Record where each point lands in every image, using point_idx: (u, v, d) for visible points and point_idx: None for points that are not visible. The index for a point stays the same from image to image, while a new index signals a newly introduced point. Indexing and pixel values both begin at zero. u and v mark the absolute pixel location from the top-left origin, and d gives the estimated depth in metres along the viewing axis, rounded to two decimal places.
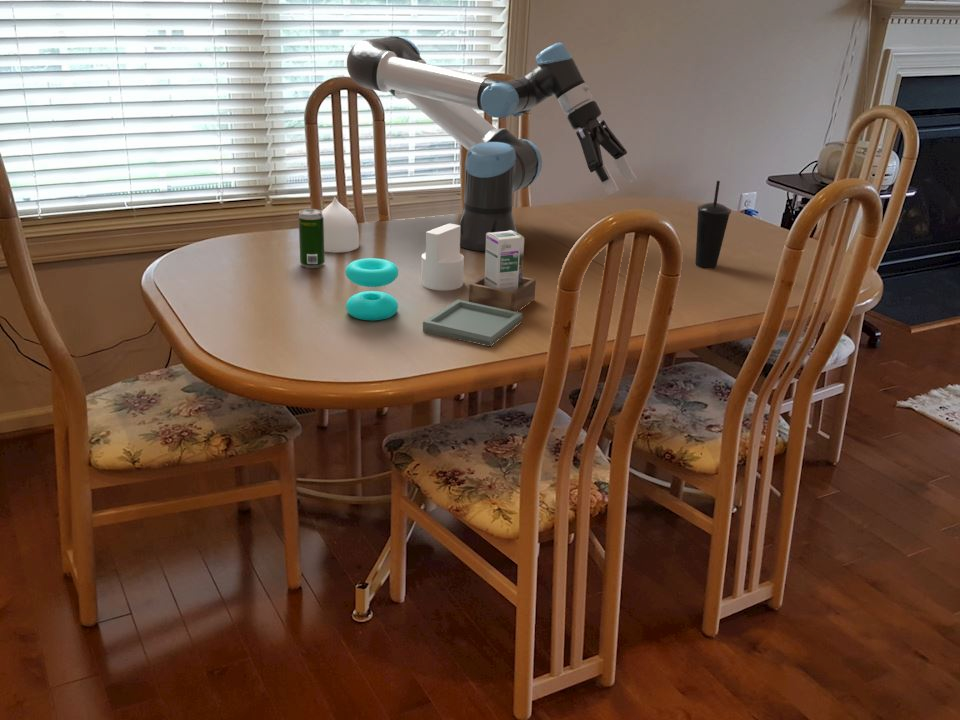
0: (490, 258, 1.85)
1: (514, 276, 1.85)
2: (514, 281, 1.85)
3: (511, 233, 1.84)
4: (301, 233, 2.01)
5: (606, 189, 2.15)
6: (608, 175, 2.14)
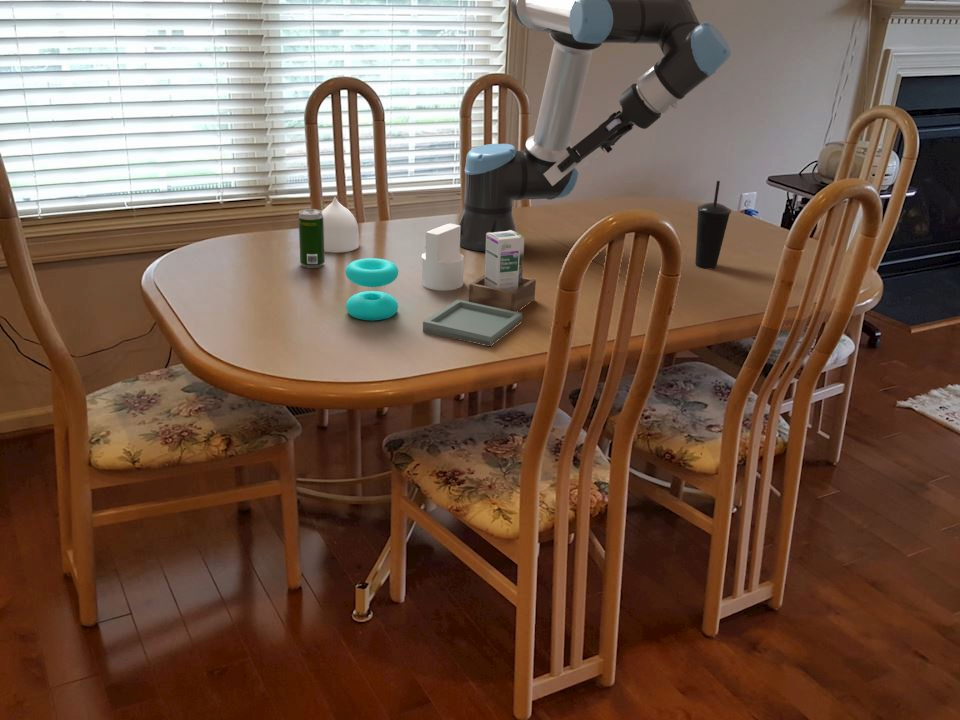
0: (490, 257, 1.85)
1: (515, 276, 1.85)
2: (514, 281, 1.85)
3: (511, 233, 1.84)
4: (301, 233, 2.01)
5: (550, 170, 1.67)
6: (567, 170, 1.66)
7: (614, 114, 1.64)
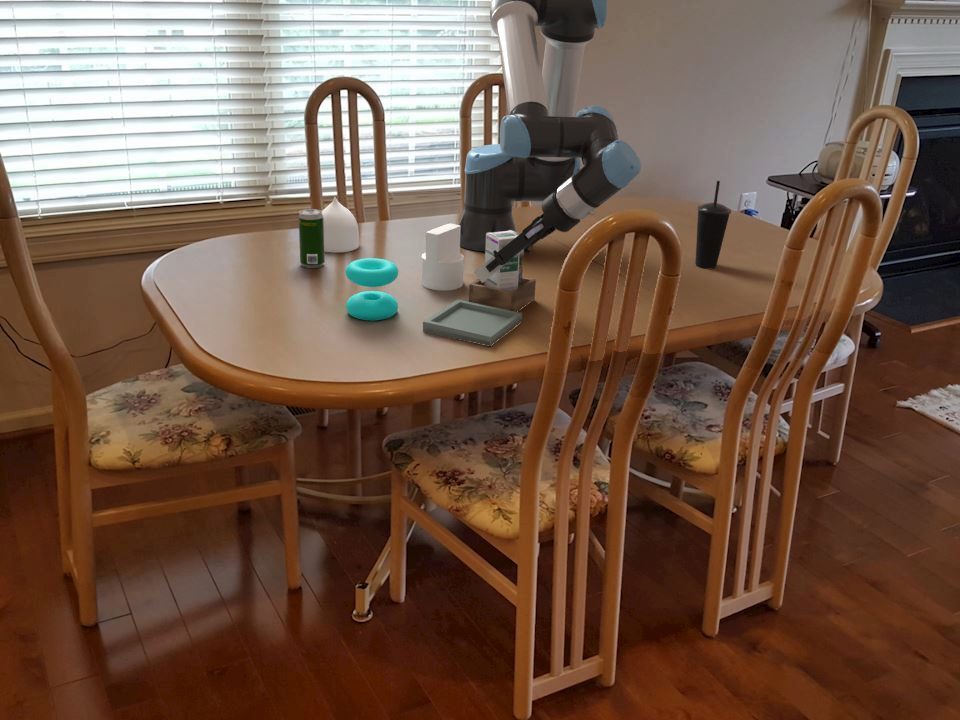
0: None
1: (514, 276, 1.85)
2: (514, 281, 1.85)
3: (511, 233, 1.84)
4: (301, 233, 2.01)
5: (480, 269, 1.83)
6: (495, 270, 1.82)
7: (537, 219, 1.77)
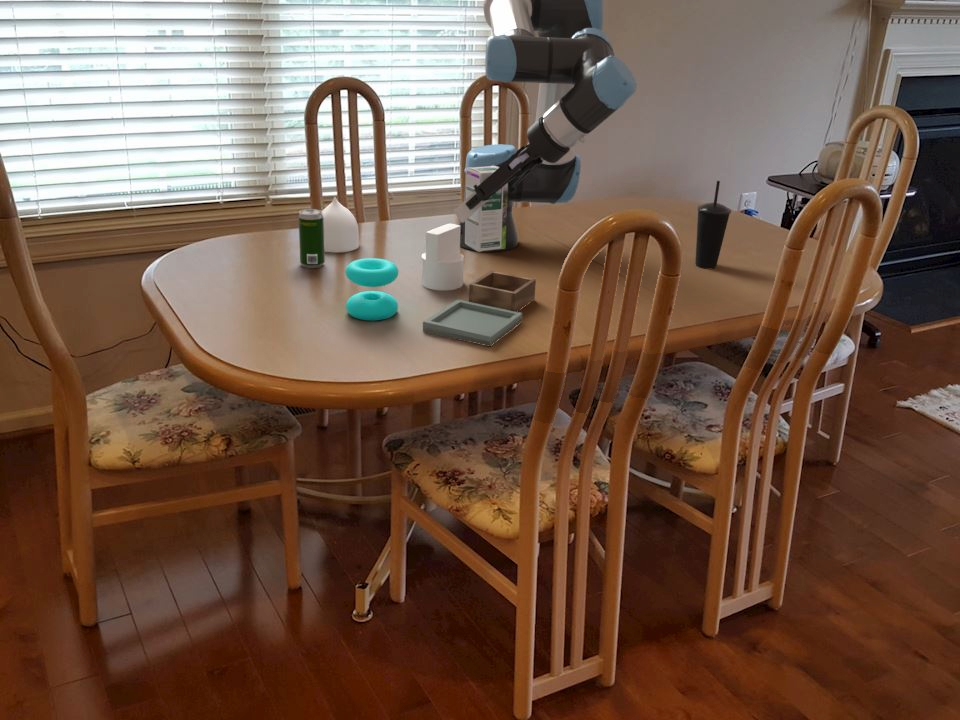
0: None
1: (498, 215, 1.67)
2: (497, 221, 1.68)
3: (494, 168, 1.67)
4: (301, 233, 2.01)
5: (459, 207, 1.66)
6: (476, 208, 1.65)
7: (521, 149, 1.60)
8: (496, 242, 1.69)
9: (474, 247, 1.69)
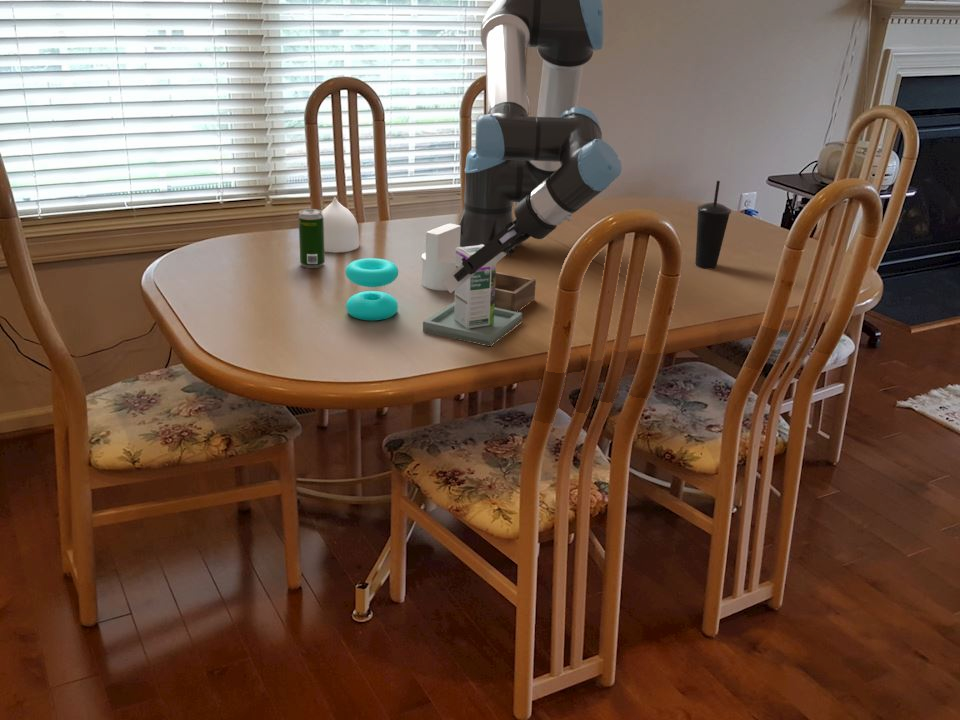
0: None
1: (486, 294, 1.71)
2: (486, 299, 1.72)
3: None
4: (301, 233, 2.01)
5: (447, 278, 1.67)
6: (464, 279, 1.65)
7: (510, 224, 1.63)
8: (484, 319, 1.73)
9: (463, 324, 1.73)
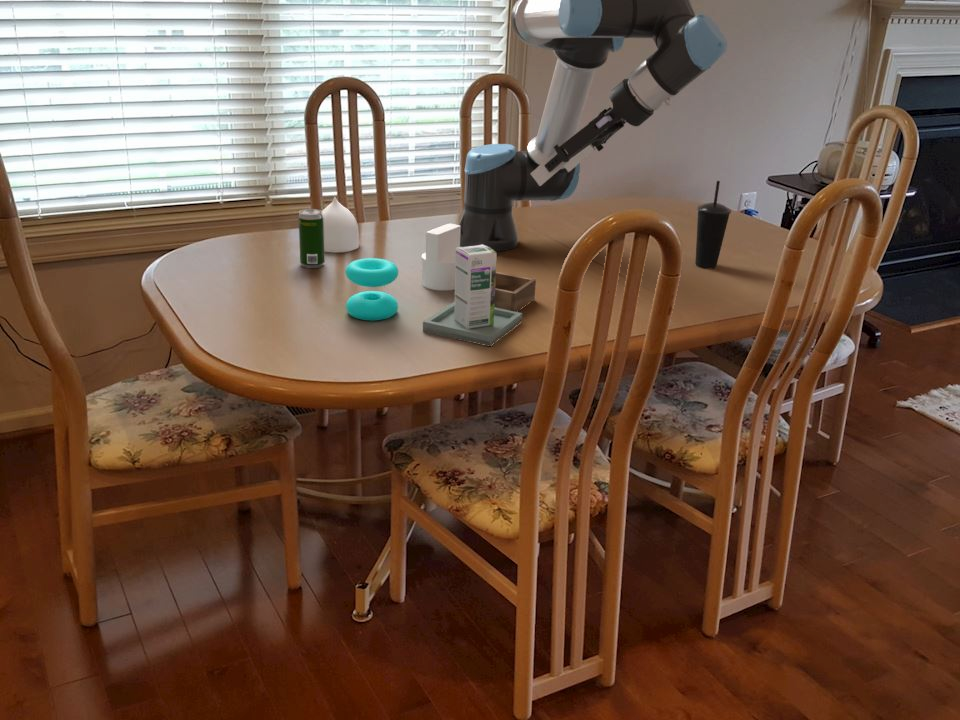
0: (460, 274, 1.71)
1: (486, 294, 1.71)
2: (486, 299, 1.72)
3: (482, 248, 1.70)
4: (301, 233, 2.01)
5: (537, 169, 1.59)
6: (555, 170, 1.58)
7: (604, 111, 1.56)
8: (484, 319, 1.73)
9: (463, 324, 1.73)
